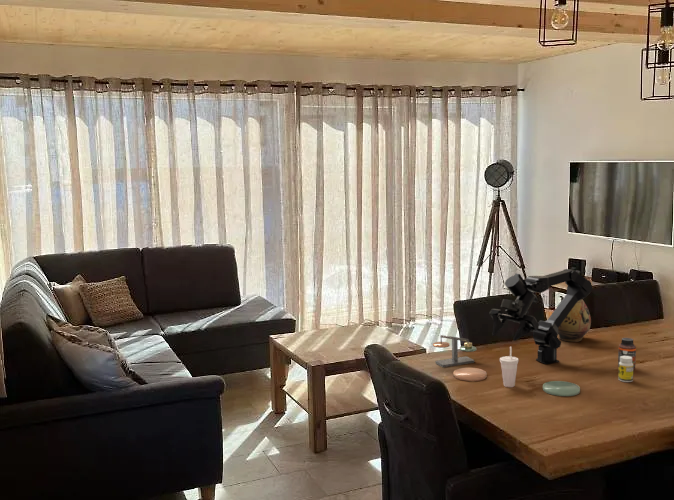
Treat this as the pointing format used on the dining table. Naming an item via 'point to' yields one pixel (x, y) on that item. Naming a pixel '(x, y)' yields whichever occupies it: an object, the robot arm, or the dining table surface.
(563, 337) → the ceramic jug
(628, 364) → the supplement bottle
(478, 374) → the terracotta dish
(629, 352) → the supplement bottle
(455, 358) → the balance
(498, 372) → the dining table surface
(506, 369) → the smoothie
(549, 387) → the green dish
